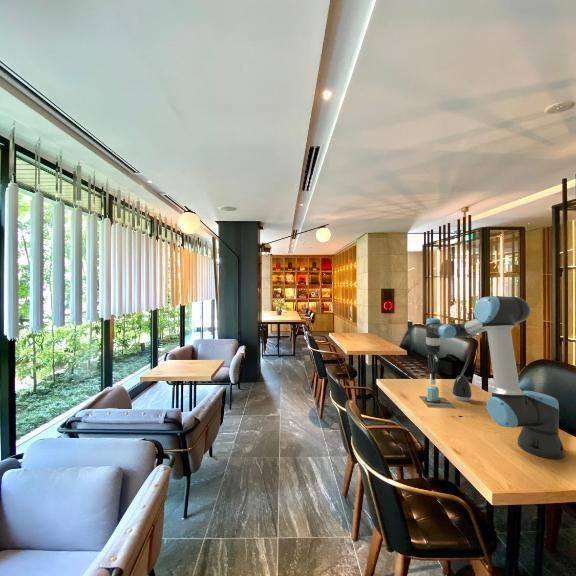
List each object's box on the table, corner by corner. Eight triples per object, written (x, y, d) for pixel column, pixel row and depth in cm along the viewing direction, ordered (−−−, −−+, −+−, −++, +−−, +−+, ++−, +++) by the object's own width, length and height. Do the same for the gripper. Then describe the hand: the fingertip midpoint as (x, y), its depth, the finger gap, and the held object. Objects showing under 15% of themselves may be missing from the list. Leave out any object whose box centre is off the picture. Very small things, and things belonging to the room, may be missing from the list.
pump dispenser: (475, 403, 179) (475, 377, 179) (457, 403, 180) (457, 377, 180) (465, 397, 190) (466, 373, 190) (449, 397, 190) (449, 372, 190)
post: (442, 403, 176) (442, 394, 176) (427, 402, 177) (428, 393, 177) (437, 398, 184) (437, 389, 184) (423, 398, 185) (423, 389, 185)
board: (456, 410, 169) (456, 408, 169) (428, 409, 171) (428, 407, 171) (443, 399, 187) (443, 397, 187) (418, 397, 188) (418, 396, 188)
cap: (439, 401, 178) (439, 389, 178) (429, 400, 178) (429, 388, 178) (436, 397, 184) (436, 385, 184) (425, 397, 184) (425, 385, 184)
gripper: (444, 346, 174) (443, 388, 174) (435, 342, 187) (435, 381, 187) (430, 346, 175) (429, 387, 175) (422, 342, 188) (422, 380, 188)
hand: (432, 384), depth 181 cm, fingers closed
